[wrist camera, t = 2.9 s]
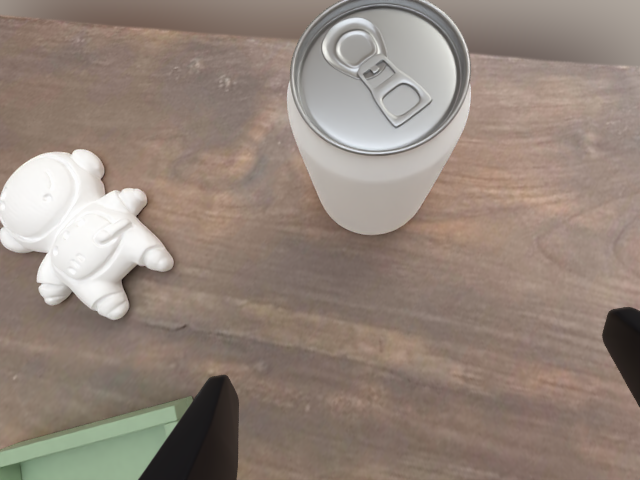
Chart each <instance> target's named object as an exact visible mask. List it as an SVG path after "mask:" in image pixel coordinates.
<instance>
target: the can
mask: <svg viewBox="0 0 640 480" xmlns="http://www.w3.org/2000/svg"><path fill="white" fill-rule="evenodd" d="M470 76H471V63H470V56H469V51H468V48H467V45H466V42H465V40H464V37H463V35H462V34H461V32H460V30H459V28H458V27H457V26H456V24H455V23H454V22H453V20H452V19H451V18H450V17H449V16H448V15H447V14H446V13H444V12H443V11H442V10H441V9H440V8H438V7H437V6H436V5H434V4H432V3H431V2H429V1H427V0H341V1H339V2H337V3H335V4H333V5H332V6H330V7H329V8H327V9H326V10H324V11H323V12H322V13H321V14H319V15H318V16H317V17H316V18H315V19H314V20H313V21H312V22H311V24H310V25H309V26H308V27H307V28H306V30H305V31H304V33H303V34H302V36H301V38H300V39H299V41H298V43H297V46H296V48H295V51H294V54H293V57H292V62H291V68H290V81H289V86H288V92H287V109H288V116H289V121H290V125H291V129H292V132H293V135H294V138H295V140H296V143H297V145H298V148H299V151H300V153H301V156H302V158H303V161H304V163H305V165H306V168H307V170H308V173H309V175H310V178H311V180H312V183H313V185H314V187H315V190H316V192H317V194H318V197H319V199H320V201H321V203H322V205H323V207H324V209H325V211H326V212H327V213H328V215H329V216H330V217H331V218H332V219H333V220H334V221H335V222H336V223H337V224H339V225H340V226H342V227H343V228H345V229H347V230H349V231H352V232H355V233H358V234H363V235H379V234H385V233H388V232H391V231H394V230H396V229H398V228H400V227H401V226H403V225H404V224H406V223H407V222H408V221H409V220H410V219H411V218H412V217H413V216H414V215H415V214H416V213H417V211H418V210H419V208H420V207H421V205H422V204H423V202H424V200H425V199H426V197H427V195H428V193H429V192H430V190H431V188H432V187H433V185H434V183H435V181H436V180H437V178H438V176H439V174H440V173H441V171H442V169H443V167H444V166H445V164H446V162H447V160H448V158H449V157H450V155H451V153H452V151H453V149H454V148H455V146H456V144H457V142H458V140H459V138H460V136H461V134H462V132H463V129H464V127H465V124H466V121H467V117H468V114H469V109H470V102H471V88H470Z"/></svg>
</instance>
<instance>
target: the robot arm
mask: <svg viewBox="0 0 640 480" xmlns="http://www.w3.org/2000/svg"><path fill="white" fill-rule="evenodd" d="M602 337H603V342H604V344H605V346H606V348H607V350H608V352H609V353H610V355H611V357H612V359H613V361H614V362H615V364H616V366H617V368H618V370H619V371H620V373H621V375H622V377H623V379H624V380H625V382H626V384H627V386H628V388H629V389H630V391H631V393H632V395H633V397H634V398H635V400H636V402H637V403H638V405H639V407H640V311H639V310H636V309H634V308H631V307H624V308H618V309H613V310H611V311H609V312H608V315H607V319H606V322H605V326H604V330H603V334H602ZM238 423H239V400H238V396H237V393H236V391H235V389H234V387H233V385H232V383H231V381H230V379H229V378H228V376H227V375H219V376H213V377H210V378H209V379H208V380H207V382H206V383H205V384H204V386H203V387H202V389H201V390H200V392H199V393H198V394H197V396H196V397H195V399H194V400H193V402H192V403H191V404H190V406H189V407H188V409H187V410H186V412H185V413H184V414H183V416H182V417H181V419H180V420H179V422H178V423H177V425H176V426H175V427H174V429H173V430H172V432H171V433H170V435H169V436H168V437H167V439H166V440H165V442H164V443H163V445H162V446H161V447H160V449H159V450H158V452H157V453H156V455H155V456H154V458H153V459H152V460H151V462H150V463H149V465H148V466H147V468H146V469H145V470H144V472H143V473H142V475H141V476H140V478H139V479H138V480H236V479H237V468H238Z"/></svg>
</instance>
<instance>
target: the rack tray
mask: <svg viewBox="0 0 640 480" xmlns="http://www.w3.org/2000/svg"><path fill="white" fill-rule="evenodd" d="M192 402H193V399H192V396H190V397H186V398H182V399H179V400H175V401H171V402H168V403H164V404H160V405H156V406H153V407H149V408H145V409H142V410H138V411H134V412H130V413H127V414H123V415H119V416H116V417H112V418H108V419H104V420H101V421H97V422H93V423H89V424H86V425H82V426H78V427H75V428H71V429H67V430H63V431H60V432H56V433H52V434H49V435H45V436H41V437H37V438H34V439H30V440H26V441H23V442H19V443H16V444H13V445H11V446H8V447H6V448H3V449H1V450H0V480H138V479H139V478H140V476H141V475H142V473H143V472H144V470H145V469H146V468H147V466H148V465H149V463H150V462H151V460H152V459H153V458H154V456H155V455H156V453H157V452H158V450H159V449H160V447H161V446H162V445H163V443H164V442H165V440H166V439H167V437H168V436H169V435H170V433H171V432H172V430H173V429H174V427H175V426H176V425H177V423H178V422H179V420H180V419H181V417H182V416H183V414H184V413H185V412H186V410H187V409H188V407H189V406H190V404H191V403H192Z"/></svg>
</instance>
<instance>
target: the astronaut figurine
mask: <svg viewBox="0 0 640 480" xmlns="http://www.w3.org/2000/svg"><path fill="white" fill-rule="evenodd" d="M103 175H104V166H103V164H102V162H101V160H100V159H99V158H98V157H97V156H96V155H95V154H93V153H92V152H90V151H88V150H83V149H78V150H75V151H73V153H72V155H71V154H69V153H65V152H50V153H45V154H41V155H39V156H36V157H34V158H32V159H30V160H29V161H27V162H26V163H24V164H23V165H22V166H20V167H19V168H18V169H17V170H16V171H15V172H14V173H13V174H12V176H11V177H10V178H9V179H8V181H7V182H6V184H5V186H4V188H3V191H2V193H1V196H0V220H1V223H2V224H3V226H4V227H3V228H2V229H1V231H0V240H1V242H2V244H3V245H4V247H6V248H7V249H9V250H11V251H14V252H17V253H29V252H32V251H36V252H43V253H47V255H46V256H45V258H44V260H43V261H42V263H41V265H40V267H39V270H38V274H37V282H38V283H42V285H41V286H40V287H39V292H40V294H41V296H42V297H44V298H45V302H46V303H47V304H49V305H56V304H59V303H61V302H62V301H64V300H65V299H66V298H67V297H68V296H69V295H70V294H71V293H72V291H73V292H74V294H75V295H76V296H77V297H78V298H79V299H80V300H81V301H82V302H83V303H84V304H85V305H86V306H88V307H89V308H90V309H92V310H96V311H98V313H99V314H100V315H102V316H105V317H107V318H109V319H112V320H116V319H120V318H121V317H123V316H124V315H125V314H126V313H127V311H128V309H129V302H128V299H127V295H126V293H125V291H124V289H123V286H122V279H123V278H124V277H125V276H126V275H127V274H128V273H129V272H130V271H131V270H132V269H133V268H134V267H135V266H136V265H137V264H138V265H139V266H146V267H147V268H149V269H152V270H156V271H160V272H165V271H168V270H170V269H172V267H173V265H174V260H173V258H172V256H171V255H170V253H169V252H168V251H167V250H166V248H165V246H164V245H163V244H162V242H161V241H160V240H159V239H158V238H157V237H156V236H155V235H154V234H153V233H152V232H151V231H150V230H149V229H148V228H147V227H146V226H145V225H143V224H142V223H141V222H140V221H139V219H138V218H137V217H136V216H137V215H138V214H139V212H140V211H141V210H142V209H143V208H144V207H145V206H146V204H147V198H146V195H145V193H144V192H143V191H141V190H140V189H137V188H136V189H132V188H125V189H123V190H122V192H120V191H117V190H114V191H112V192H110V193H108V194H106V195H105V189H104V184H103V182H102V181H101V178H102V177H103Z"/></svg>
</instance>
